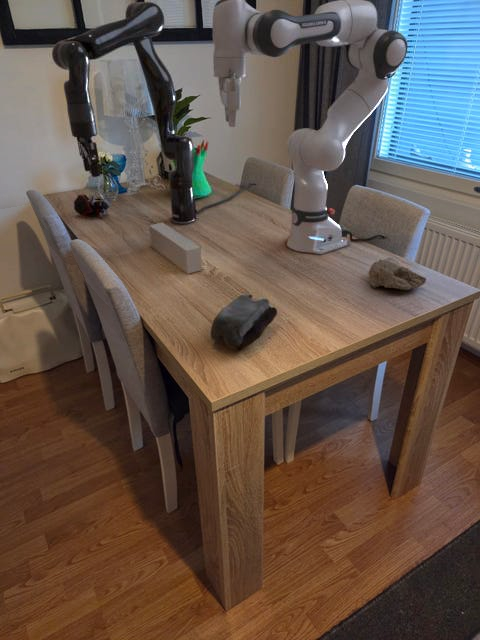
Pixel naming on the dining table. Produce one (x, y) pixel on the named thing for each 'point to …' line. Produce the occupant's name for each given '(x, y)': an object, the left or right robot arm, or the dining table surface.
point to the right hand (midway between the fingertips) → (230, 124)
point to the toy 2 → (199, 172)
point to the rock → (242, 322)
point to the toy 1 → (90, 206)
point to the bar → (176, 247)
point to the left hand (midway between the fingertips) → (92, 173)
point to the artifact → (393, 275)
